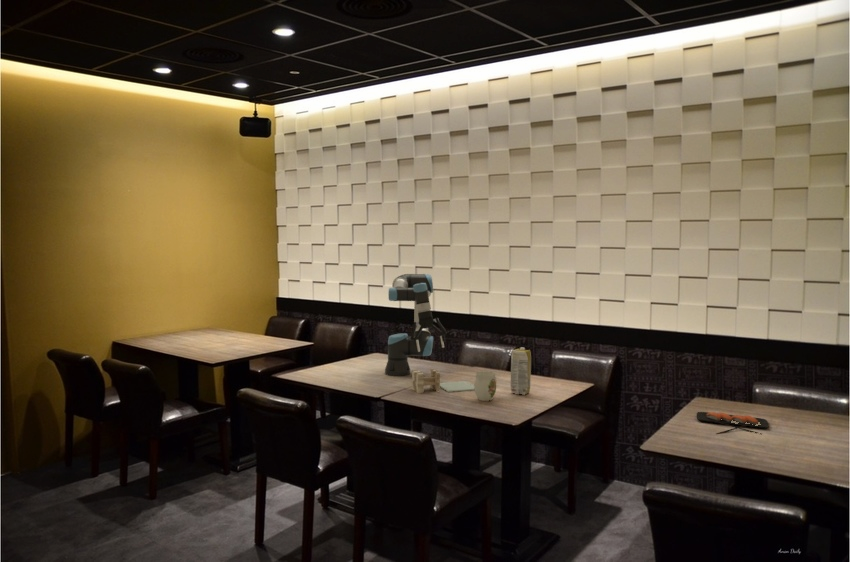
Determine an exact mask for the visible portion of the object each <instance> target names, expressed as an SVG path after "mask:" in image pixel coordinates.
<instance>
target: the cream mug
mask: <svg viewBox="0 0 850 562" xmlns="http://www.w3.org/2000/svg"><path fill="white" fill-rule="evenodd" d="M474 374H475V380H474V382H473V383H474V384H473V385H474V389H475V390H474V393H475V396H476V398H477V399H478V401H481V400H482V401H483V402H489V400H490V401H492V399H493V398H494V397H495V394H496V390H497V376H496V375H497V374H496V372H493V371H487V370H486V371H485V370H484V371H483V370H482V371H475V373H474Z"/></svg>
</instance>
